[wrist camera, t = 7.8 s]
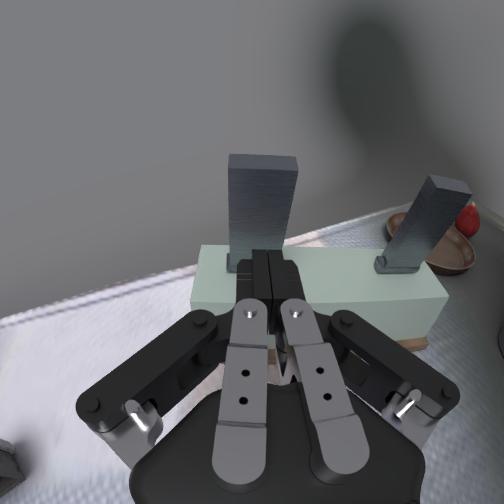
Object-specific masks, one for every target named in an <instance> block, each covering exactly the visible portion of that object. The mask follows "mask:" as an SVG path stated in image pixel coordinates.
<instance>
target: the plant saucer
mask: <svg viewBox="0 0 504 504" xmlns="http://www.w3.org/2000/svg"><path fill="white" fill-rule="evenodd" d="M406 214H407V212H400V213H395V214H393V215H391V216H390V217H389V218H388V220H387V229H388V233H389V235H390V238H391V239H392V237H393V236H394V234H395V232H396V231H397V229H398V227H399V226H400V224H401V223H402V221H403V219H404V218H405V216H406ZM475 260H476V254H475V251H474V248H473V247H472V245H471V243H470V242H469V241H468V240H467V239H466V238H465V237H464V236H463V235H462V234H461V233H460V232H459V231H457V230H456V229H455V228H453V227H452V226H450V228H449V229H448V230H447V232H446V233H445V234H444V236H443V237H442V238H441V240H440V241H439V242H438V244H437V245H436V246H435V247H434V249H433V250H432V251H431V252H430V254H429V255H428V256H427V257H426V259H425V260H424V261H425V262H426V264H427V265H428V266H429V268H430V269H431V270H432V272H433V273H436V274H441V275H452V274H457V273H460V272H463V271H465V270H467V269H468V268H470V267H471V266H472V265H473V264H474V263H475Z"/></svg>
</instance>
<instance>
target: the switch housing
mask: <svg viewBox="0 0 504 504" xmlns="http://www.w3.org/2000/svg"><path fill="white" fill-rule="evenodd" d="M384 250H385V249H361V248H323V247H282V253H283V258H284V260H293V261H294V263H295V264H296V265H297V266H298V270H299V275H300V278H301V282H302V286H303V290H304V294H305V299H306V302H307V303H309V304H310V306H311V307H312V309H313V310H314V311H316V312H318V313H321V314H325V315H329V316H332V314H333V313H334V312H336V311H338V310H349V311H352V312H354V313H356V314H357V315H359V316H360V317H361V318H363V319H364V320H366V321H367V322H369V323H370V324H371V325H373V326H374V327H376V328H377V329H378V330H380V331H381V332H383V333H384V334H386V335H387V336H388V337H390V338H391V339H393V340H394V341H399V340H407V339H414V338H421V337H426V335H427V334H428V332H429V330H430V329H431V327H432V326H433V324H434V322H435V321H436V319H437V317H438V316H439V314H440V312H441V310H442V309H443V307H444V305H445V303H446V302H447V300H448V298H449V295H448V294H447V292H446V291H445V289H444V288H443V286H442V285H441V283H440V282H439V280H438V279H437V277H436V276H435V275H434V273H433V272H432V270H431V269H430V268H429V266H428V265H427V264H426V262H425V261H423V262H422V263H421V265H420V269H419V271H418V272H413V273H377V272H376V271H375V267H374V262H375V258H376V257H377V256H382V255H381V254H382V253H383V251H384ZM227 253H230V249H229V245H202V246H201V251H200V255H199V260H198V264H197V269H196V274H195V279H194V284H193V289H192V294H191V299H190V305H191V311H193V310H198V309H204V310H208V311H210V312H212V313H213V314H214V315H215V316H217V315H221V314H224V313H227V312H229V311H230V310H231V309H232V308H233V307H234V306H235V303H236V275H237V272H227V271H226V259H227ZM274 346H275V335H269V328H268V335H267V347H268V349H274Z"/></svg>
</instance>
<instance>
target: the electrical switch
mask: <svg viewBox="0 0 504 504" xmlns="http://www.w3.org/2000/svg"><path fill="white" fill-rule="evenodd" d="M14 453H15V449H14V448H13V446H12V445H11V444H10V442H8V441H5V440H2V439H0V479H1V480H0V498H1V497H2V496H3V495H5V494H6V493H8V492H9V491H11V490H12V489H13V488H15V487H16V486H18V485H19V484H20V483H22V482H23V481H24V480H25V479H26V478H25V477H24V475H23V474H22V473H21V471H20V470H19V468H18V466H17V464H16V462H15V461H14V460H13V458H12V456H11V455H13V454H14ZM6 484H9V485H6Z"/></svg>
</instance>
